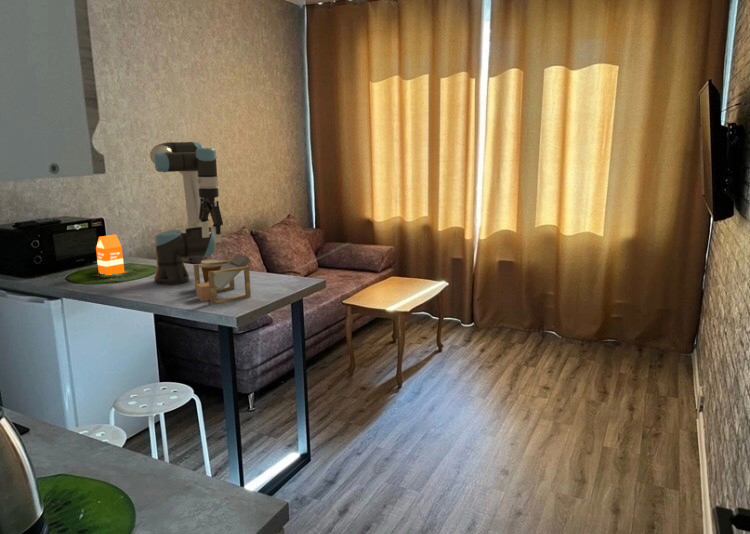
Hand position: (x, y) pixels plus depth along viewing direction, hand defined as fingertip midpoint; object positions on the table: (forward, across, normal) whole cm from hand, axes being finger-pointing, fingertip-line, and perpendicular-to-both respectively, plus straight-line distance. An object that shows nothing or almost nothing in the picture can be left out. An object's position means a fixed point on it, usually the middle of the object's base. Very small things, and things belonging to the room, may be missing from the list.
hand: (211, 239), depth 229 cm
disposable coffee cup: (+25, -16, +5) cm, 30 cm away
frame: (+24, +1, +3) cm, 24 cm away
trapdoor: (+15, +1, +7) cm, 17 cm away
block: (+21, +1, -1) cm, 21 cm away
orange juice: (+26, -68, -26) cm, 77 cm away
